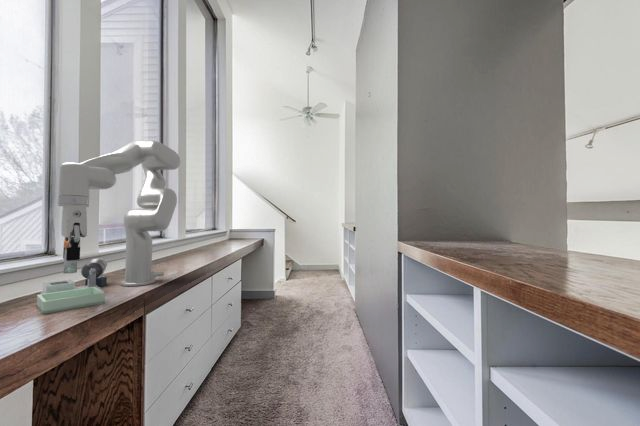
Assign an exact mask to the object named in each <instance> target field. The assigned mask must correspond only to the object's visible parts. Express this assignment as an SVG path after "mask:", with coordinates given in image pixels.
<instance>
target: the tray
mask: <svg viewBox="0 0 640 426" xmlns="http://www.w3.org/2000/svg"><path fill="white" fill-rule="evenodd" d="M105 295H106V292H105V291H103V290H100V289H98V288H96V287H89V288H82V289H75V290H68V291H61V292H54V293H47V294H41V293H40V294H36V307H37V309H38V310H39V311H40V313H41V314H42V315H46V314H51V313H57V312H64V311H69V310H74V309H80V308H85V307H90V306H91V307H92V306H96V305H102V304H105V303H106V300H105V298H106V296H105Z"/></svg>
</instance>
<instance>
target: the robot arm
mask: <svg viewBox="0 0 640 426" xmlns="http://www.w3.org/2000/svg"><path fill="white" fill-rule="evenodd" d="M140 165H141V167H142V171H143V173H144V176H145V177H144V181H143V183H142V186H141V189H140V190H139V193H138V196H137V198H136V203H137V206H138V207H139V208H133V209H129V210H128V211H127V212H125V214H124V216H123V225H124V230H125V270H124V271H125V275H124V276H125V277H124V279H123V280H121V281H120V286H124V287H138V286H146V285H150V284H154V283H156V280H157V279H156V278H157V277H163V276H164V275H165V273H164V271H154V270H153V266H152V265H153V239H152V236H151V234H150V232H163V231H166V230H167V229H168V227H169V226H170V223H171V220H172V219H173V215H174V212H175V210H176V207H177V203H178V199H177V198H178V197H177V193H176V192H175V191H174V190H173V189H172V188H168V187H166V184H167V182H166V179H165V177H164V176H163V174H162V173H161V171H165V170H166V171H169V170H170V171H172V170H173V171H174V170H177V169H178V168H179V167H180V165H181V158H180V155H179V154H178V153H177V152H176V151H175V150H174V149H172V148H171V147H169V146H167V145H166V144H164V143H162V142H160V141H158V140H134V141H132V142H129V143H127V144H126V145H124V146H123V147H121V148H119V149H117V150H115V151H113V152H110V153H106V154H103V155H100V156H96V157H93V158H91V159H88V160H84V161H83V162H80V163H79V162H78V163H77V162H63V163H62V164H61V165H60V166H59V178H58V180H59V181H58V197H57V198H58V199H57V200H58V201H57V206H58V207H62V210H61V211H62V212H61V226H60V227H61V236H62V237H64V241H68V248H67V253H66V260H67V261H72V260H77V261H80V259H81V238H86V237H87V236H88V235H87V234H88V224H87V223H88V216H87V214H88V213H87V208H89V207H90V190H108V189H111V188H113V187H114V186H115V184H116V183H117V177H116V175H121V174H125V173H128V172H131V171H132V170H133V169H135V168H137V167H138V166H140ZM62 254H63V255H62V256H63V257H62V259H63V260H64V254H65V248H64V247H63V253H62Z"/></svg>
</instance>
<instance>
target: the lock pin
mask: <svg viewBox="0 0 640 426" xmlns="http://www.w3.org/2000/svg"><path fill="white" fill-rule="evenodd" d="M64 248H65V254H64V259H63V273H62V274H76V273H77V272H78V271H77V270H78V260H72V261H67V260H66V253H67V248H68V241H65V240H63V249H64Z"/></svg>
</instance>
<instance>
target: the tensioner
mask: <svg viewBox="0 0 640 426" xmlns="http://www.w3.org/2000/svg"><path fill="white" fill-rule="evenodd" d="M102 271H103V269H102V266H101V265H100V264H98V263H94V262H91V263H90V262H88V263H86V264H84V265H83V266H82V268H81V270H80V273H81V275H82V277H83V278H85V280H86V279H88V285H87V286H85V285H82V286H81V285H80V286H76V283H77V282H76V281H74V280H72V279H67V280H59V281H50V282H43V283H42V291H40V294H47V293H54V292H61V291H68V290H75V289H82V288H89V287H96V288H98V289H100V290H102V287H99V286H97V285H96V278H98V277H99V276H100V275H101V274H102ZM102 291H103V290H102Z"/></svg>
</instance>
